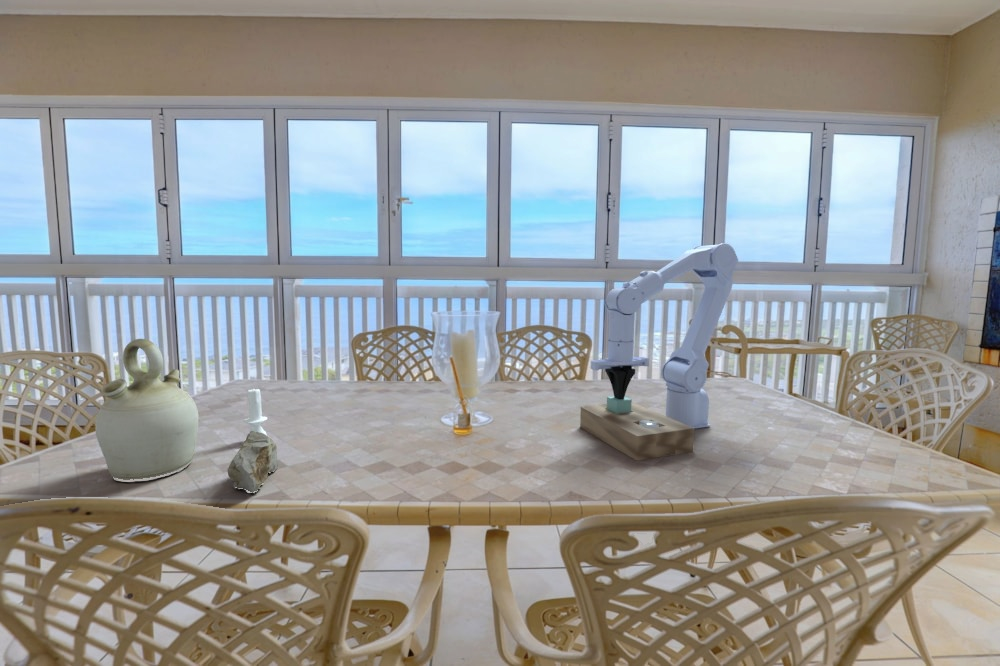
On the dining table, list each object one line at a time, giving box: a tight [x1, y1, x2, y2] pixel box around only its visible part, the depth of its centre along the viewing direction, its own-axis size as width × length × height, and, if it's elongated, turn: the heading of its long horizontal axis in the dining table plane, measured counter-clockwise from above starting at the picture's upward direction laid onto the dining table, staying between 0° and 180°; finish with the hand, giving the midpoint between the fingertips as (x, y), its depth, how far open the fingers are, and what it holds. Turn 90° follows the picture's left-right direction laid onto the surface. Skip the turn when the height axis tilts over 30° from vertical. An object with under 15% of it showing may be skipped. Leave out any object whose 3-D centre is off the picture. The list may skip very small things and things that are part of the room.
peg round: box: [639, 420, 659, 429], centre depth 99 cm, size 4×4×5 cm
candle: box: [243, 388, 268, 437], centre depth 103 cm, size 5×5×12 cm
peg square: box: [606, 395, 633, 414], centre depth 109 cm, size 4×4×5 cm
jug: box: [94, 338, 200, 480], centre depth 87 cm, size 15×16×25 cm
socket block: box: [579, 402, 695, 462], centre depth 104 cm, size 14×22×5 cm, turn 20°
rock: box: [227, 431, 279, 493], centre depth 82 cm, size 12×7×10 cm, turn 6°
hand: (619, 398), depth 109 cm, fingers closed, pressing on peg square
